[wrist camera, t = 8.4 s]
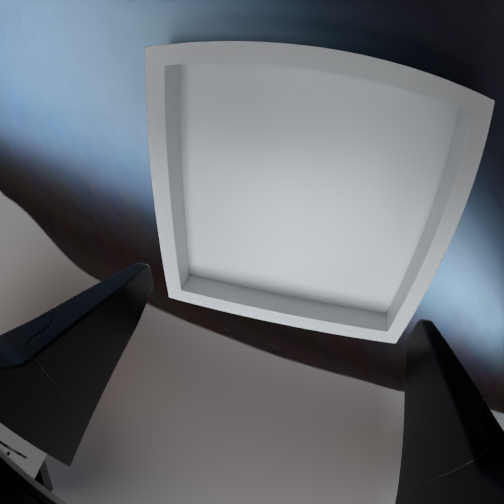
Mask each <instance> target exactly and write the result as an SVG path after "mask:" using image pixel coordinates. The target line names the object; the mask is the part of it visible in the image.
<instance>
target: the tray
mask: <svg viewBox="0 0 504 504" xmlns="http://www.w3.org/2000/svg"><path fill="white" fill-rule="evenodd" d="M145 79H146V110H147V128H148V143H149V156H150V167H151V178H152V187H153V196H154V204H155V212H156V220H157V227H158V235H159V241H160V248H161V254H162V260H163V266H164V272H165V278H166V284H167V289H168V294H169V298H173V299H177V300H180V301H184V302H188V303H192V304H196V305H200V306H204V307H208V308H212V309H216V310H220V311H225V312H229V313H233V314H237V315H242V316H246V317H251V318H255V319H260V320H265V321H269V322H274V323H279V324H284V325H289V326H294V327H299V328H304V329H309V330H315V331H320V332H326V333H331V334H337V335H343V336H349V337H355V338H361V339H368V340H374V341H381V342H388V343H395V344H396V342H397V341H398V339H399V337H400V336H401V334H402V333H403V331H404V329H405V328H406V326H407V325H408V323H409V321H410V320H411V318H412V316H413V314H414V313H415V311H416V309H417V308H418V306H419V304H420V302H421V300H422V299H423V297H424V295H425V293H426V291H427V289H428V287H429V286H430V284H431V282H432V280H433V278H434V276H435V274H436V272H437V270H438V268H439V266H440V264H441V262H442V260H443V257H444V255H445V253H446V251H447V249H448V247H449V244H450V242H451V240H452V238H453V235H454V233H455V231H456V228H457V226H458V223H459V221H460V218H461V216H462V213H463V211H464V208H465V205H466V203H467V200H468V197H469V194H470V192H471V189H472V186H473V183H474V180H475V177H476V174H477V171H478V167H479V164H480V161H481V157H482V154H483V150H484V146H485V143H486V139H487V135H488V131H489V126H490V122H491V117H492V113H493V108H494V102H495V101H494V100H492V99H490V98H488V97H486V96H484V95H482V94H480V93H477V92H475V91H473V90H471V89H468V88H466V87H464V86H461V85H459V84H456V83H454V82H451V81H449V80H446V79H443V78H441V77H438V76H435V75H432V74H429V73H427V72H424V71H420V70H417V69H414V68H411V67H408V66H404V65H401V64H397V63H394V62H390V61H386V60H382V59H378V58H374V57H370V56H365V55H361V54H356V53H351V52H346V51H340V50H334V49H328V48H321V47H314V46H306V45H297V44H287V43H274V42H256V41H208V42H189V43H176V44H166V45H157V46H150V47H145Z"/></svg>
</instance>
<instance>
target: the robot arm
mask: <svg viewBox="0 0 504 504" xmlns="http://www.w3.org/2000/svg"><path fill="white" fill-rule="evenodd" d="M152 288H153V280H152V275H151V270H150V267H149V265H147V264H143V263H136V264H134V265H132V266H130V267H128V268H126V269H124V270H122V271H120V272H118V273H117V274H115V275H113V276H111V277H109V278H107V279H105V280H103V281H102V282H100V283H98V284H96V285H94V286H92V287H91V288H89V289H87V290H85V291H83V292H81V293H80V294H78V295H76V296H74V297H73V298H71V299H69V300H67V301H65V302H64V303H62V304H60V305H58V306H57V307H56V308H53V309H51V310H50V311H48V312H46V313H44V314H42V315H40V316H39V317H37V318H35V319H33V320H31V321H29V322H27V323H25V324H23V325H21V326H19V327H16V328H14V329H12V330H10V331H8V332H6V333H4V334H2V335H0V504H67V503H66V502H64V501H63V500H61V499H60V498H59V497H57V496H56V495H54V494H53V493H52V492H51V491H52V489H53V487H52V484H51V480H50V477H49V474H48V470H47V467H46V463H45V460H44V459H45V457H46V455H47V454H48V455H50V456H51V457H53V458H55V459H56V460H58V461H60V462H62V463H64V464H66V465H67V466H70V465H71V463H72V461H73V458H74V456H75V454H76V451H77V449H78V447H79V444H80V442H81V440H82V437H83V435H84V433H85V431H86V428H87V426H88V424H89V420H90V419H91V417H92V415H93V413H94V410H95V408H96V406H97V404H98V402H99V400H100V398H101V396H102V393H103V391H104V389H105V387H106V385H107V383H108V381H109V379H110V377H111V375H112V373H113V371H114V369H115V367H116V365H117V363H118V361H119V359H120V357H121V355H122V353H123V351H124V349H125V348H126V346H127V344H128V342H129V340H130V338H131V336H132V334H133V332H134V330H135V329H136V326H137V324H138V322H139V320H140V317H141V315H142V313H143V310H144V308H145V305H146V303H147V300H148V298H149V296H150V293H151V291H152ZM397 493H398V494H397V497H396V503H395V504H504V431H503V430H502V428H501V426H500V425H499V423H498V422H497V420H496V419H495V417H494V416H493V414H492V412H491V410H490V409H489V407H488V405H487V404H486V402H485V400H483V397H482V395H481V394H480V392H479V391H478V389H477V387H476V386H475V384H474V382H473V381H472V379H471V378H470V376H469V375H468V373H467V371H466V370H465V368H464V367H463V365H462V364H461V362H460V361H459V359H458V358H457V356H456V355H455V353H454V352H453V350H452V349H451V348H450V346H449V345H448V343H447V342H446V340H445V339H444V337H443V336H442V335H441V333H440V332H439V330H438V329H437V328H436V326H435V325H434V324H433V322H432V321H430V320H425V319H420V320H419V321H418V322H417V324H416V325H415V327H414V329H413V330H412V332H411V333H410V335H409V338H408V346H407V361H406V373H405V406H404V432H403V447H402V458H401V468H400V477H399V485H398V492H397Z"/></svg>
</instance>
